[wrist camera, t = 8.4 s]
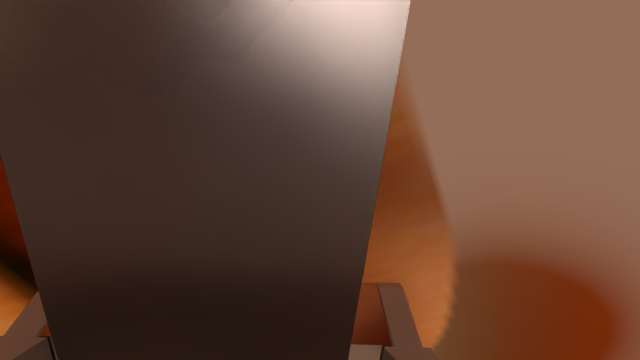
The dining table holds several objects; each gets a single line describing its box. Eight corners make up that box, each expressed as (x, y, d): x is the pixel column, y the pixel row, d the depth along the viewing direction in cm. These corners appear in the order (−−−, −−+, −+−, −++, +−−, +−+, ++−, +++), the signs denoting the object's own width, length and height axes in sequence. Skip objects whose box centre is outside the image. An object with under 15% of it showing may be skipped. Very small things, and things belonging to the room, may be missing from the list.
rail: (128, -192, 6) (-339, -587, 2) (365, -162, 7) (524, -431, 2) (188, 468, 14) (135, 719, 9) (295, 468, 14) (294, 712, 10)
